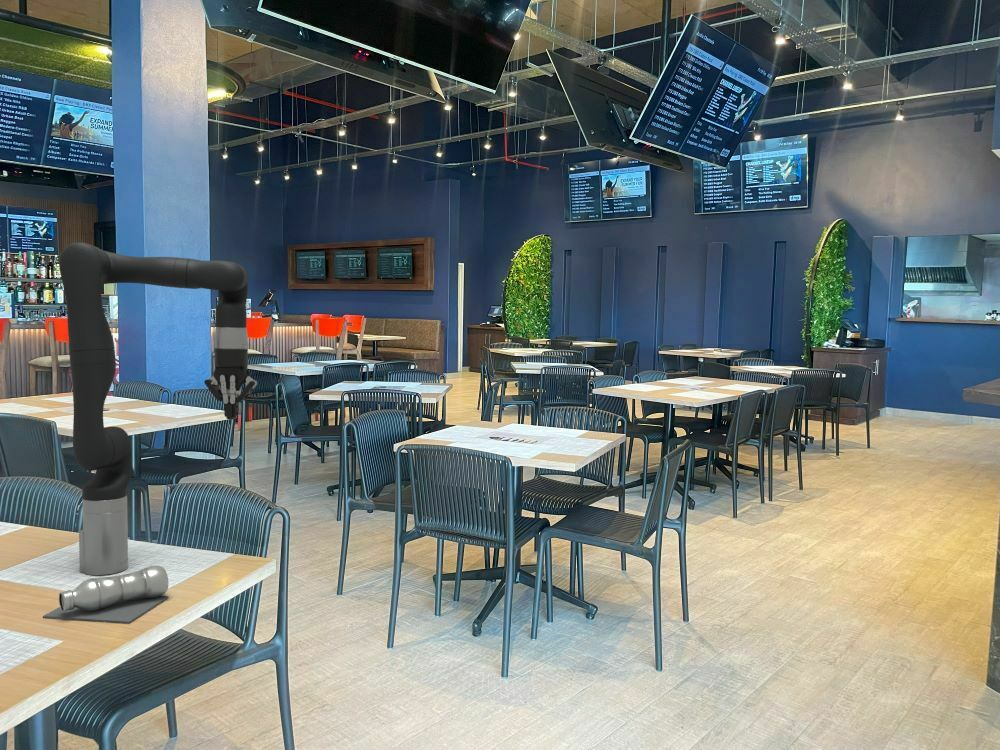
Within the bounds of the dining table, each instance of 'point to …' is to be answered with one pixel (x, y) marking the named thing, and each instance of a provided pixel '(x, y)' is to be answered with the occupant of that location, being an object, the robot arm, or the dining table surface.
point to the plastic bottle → (115, 589)
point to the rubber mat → (111, 611)
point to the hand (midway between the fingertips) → (231, 418)
